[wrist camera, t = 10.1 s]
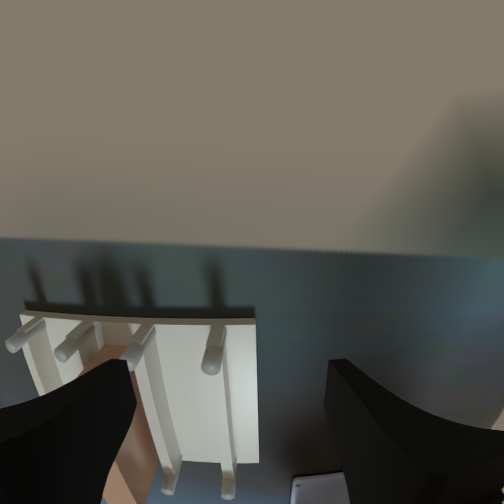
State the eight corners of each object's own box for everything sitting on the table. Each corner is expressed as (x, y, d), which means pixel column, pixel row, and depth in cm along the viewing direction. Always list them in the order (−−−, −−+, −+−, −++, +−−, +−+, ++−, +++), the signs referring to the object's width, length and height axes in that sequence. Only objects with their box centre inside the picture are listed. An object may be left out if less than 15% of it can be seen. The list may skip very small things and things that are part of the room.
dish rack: (258, 454, 23) (259, 499, 18) (69, 433, 23) (48, 466, 18) (255, 317, 20) (255, 358, 15) (26, 310, 20) (-12, 335, 15)
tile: (162, 449, 21) (142, 513, 15) (134, 445, 21) (109, 506, 15) (137, 346, 19) (94, 411, 12) (104, 344, 19) (55, 403, 13)
